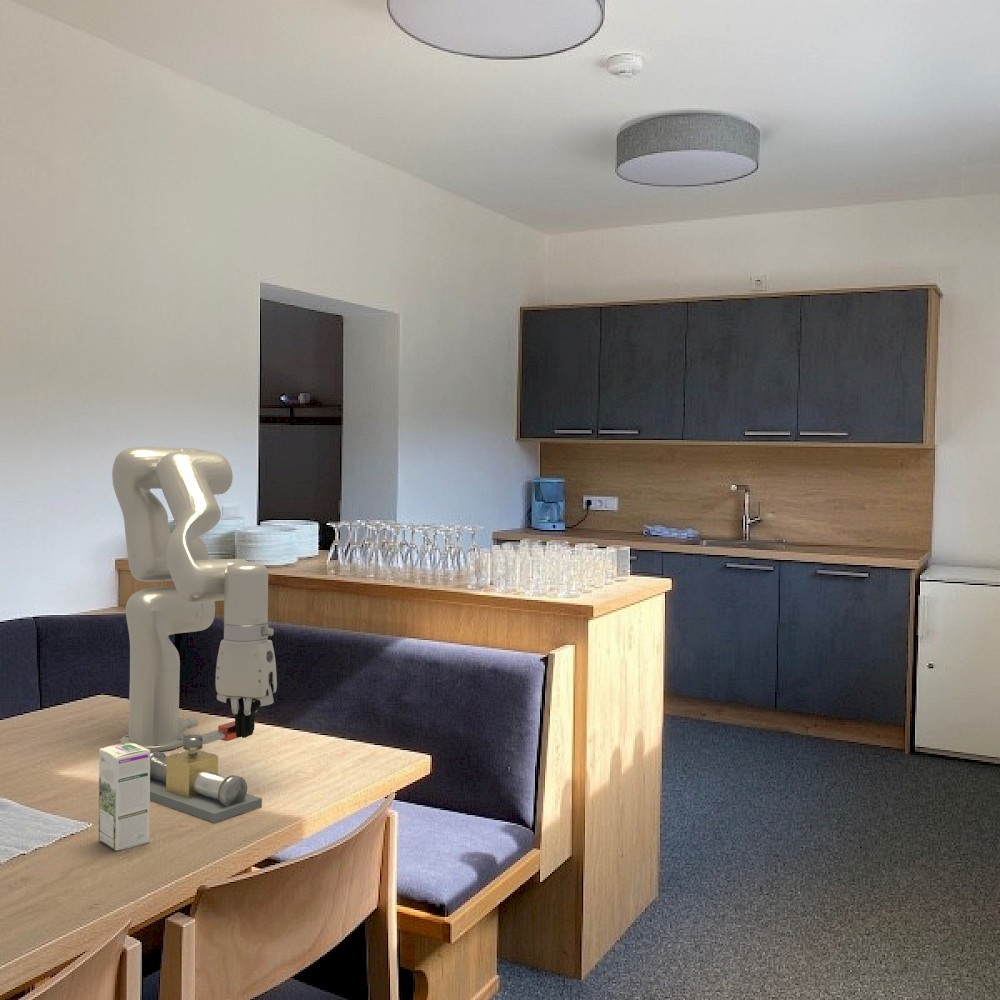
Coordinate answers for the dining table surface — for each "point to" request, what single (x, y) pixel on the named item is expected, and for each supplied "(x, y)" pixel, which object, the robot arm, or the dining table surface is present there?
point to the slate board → (201, 803)
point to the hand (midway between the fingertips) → (244, 735)
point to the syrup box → (124, 795)
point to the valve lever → (209, 738)
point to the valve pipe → (197, 777)
